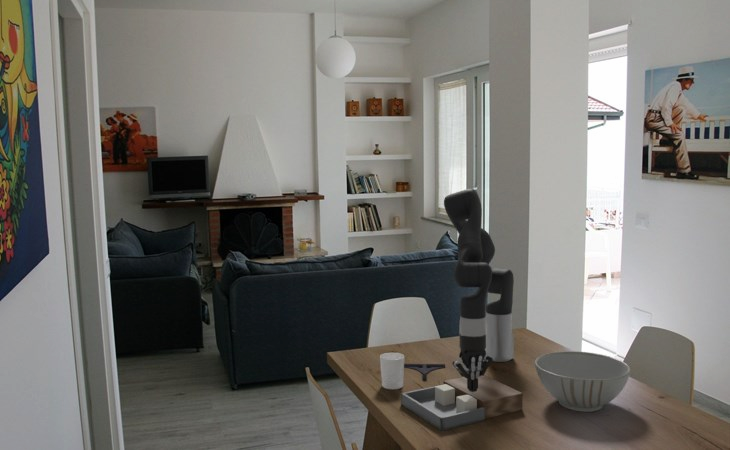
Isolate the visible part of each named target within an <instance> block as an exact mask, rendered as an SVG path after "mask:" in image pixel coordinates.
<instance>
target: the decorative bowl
mask: <svg viewBox="0 0 730 450" xmlns="http://www.w3.org/2000/svg"><path fill="white" fill-rule="evenodd" d="M534 366H535V370H536V374H537V376H538V379H539V380H540V383H542V385H543V387H544V388H545V390H546V391H547V392H548V393H549V394H550V396H552V397H553V398H554V399H556V400H557V401H559V405H560V406H561V407H563V408H565V409H567V410H571V411H574V412H575V411H576V412H582V413H590V412H591V413H592V412H598V411H600V410H602V409H603V407H604V405H606V404H608V403H611V402H612V401H613V400H615V399H616V398H617V397H618V396H619V395H620V394H621V392H622V391H623V390H624V388H625V386H626V385H627V383H628V380H629V378H630V375H631V367H630V366H629V365H628V364H627V363H626V362H624V361H622V360H620V359H618V358H616V357H613V356H610V355H606V354H605V355H604V354H601V353H594V352H588V351H587V352H586V351H574V350H573V351H571V350H570V351H569V350H568V351H565V350H564V351H554V352H548V353H544V354H541V355H540V356H538V357H536V358H535V360H534Z"/></svg>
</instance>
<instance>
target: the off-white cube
mask: <svg viewBox="0 0 730 450" xmlns="http://www.w3.org/2000/svg"><path fill="white" fill-rule="evenodd" d="M473 409H477V399H475V398H473V397H472V396H470V395H463V396H457V397H456V412H457V413H460V412H465V411H469V410H473Z"/></svg>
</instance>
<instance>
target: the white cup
mask: <svg viewBox="0 0 730 450" xmlns="http://www.w3.org/2000/svg"><path fill="white" fill-rule="evenodd" d="M379 359H380V362H379V363H380V364H379V365H380V377H381V386H382V388H384V389H386V390H399V389H401V388H403V387H404V375H405V367H404V364H405V355H404V354H402V353H401V352H386V353H382V354H380V355H379Z"/></svg>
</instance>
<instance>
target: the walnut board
mask: <svg viewBox="0 0 730 450" xmlns="http://www.w3.org/2000/svg"><path fill="white" fill-rule="evenodd" d="M444 384H447V385H449V386H451V387H453V388H455V402H456V397H457V396H463V395H470V396H472V397H473V398H475V399H477V409H478V408H482V407H483V408H485V419H491V418H494V417H497V416H501V415H506V414H510V413H514V412H515V413H516V412H519V411H523V394H524V393H523V392H521V391H519V390H518V389H517V390H516V389H514V388H512V387H510V386H508V385H506V384H504V383H501V382H499V381H498V380H495V379H492V378H491V377H489V376H487V375H485V374H484V375H483V376H482V375H481V376H480V377H479V378H478V389H477V391H475V392H471V391H469V390H468V388H467V378H465V377H462V376H461V377H455V378H451V379H447V380H443V385H444Z"/></svg>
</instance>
